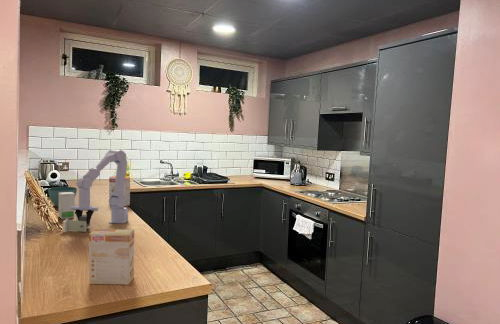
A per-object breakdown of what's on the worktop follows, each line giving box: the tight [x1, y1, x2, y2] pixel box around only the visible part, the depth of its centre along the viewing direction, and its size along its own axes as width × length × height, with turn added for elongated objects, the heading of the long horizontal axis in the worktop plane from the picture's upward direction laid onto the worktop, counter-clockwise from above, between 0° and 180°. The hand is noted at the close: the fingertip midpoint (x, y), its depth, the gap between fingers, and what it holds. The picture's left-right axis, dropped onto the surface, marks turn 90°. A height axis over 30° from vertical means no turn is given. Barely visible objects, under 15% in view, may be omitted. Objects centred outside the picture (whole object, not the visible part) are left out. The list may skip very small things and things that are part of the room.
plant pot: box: [47, 186, 78, 208], centre depth 261 cm, size 18×18×12 cm
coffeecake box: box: [88, 228, 135, 286], centre depth 141 cm, size 15×7×20 cm, turn 92°
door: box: [68, 219, 87, 233], centre depth 202 cm, size 2×10×6 cm, turn 81°
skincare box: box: [57, 192, 76, 220], centre depth 230 cm, size 8×7×16 cm
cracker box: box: [108, 175, 131, 207], centre depth 269 cm, size 14×6×21 cm, turn 73°
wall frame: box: [62, 215, 79, 233], centre depth 209 cm, size 2×18×6 cm, turn 0°
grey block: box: [79, 214, 91, 229], centre depth 208 cm, size 4×5×6 cm
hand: (84, 223), depth 208 cm, fingers closed on grey block, 4 cm apart
